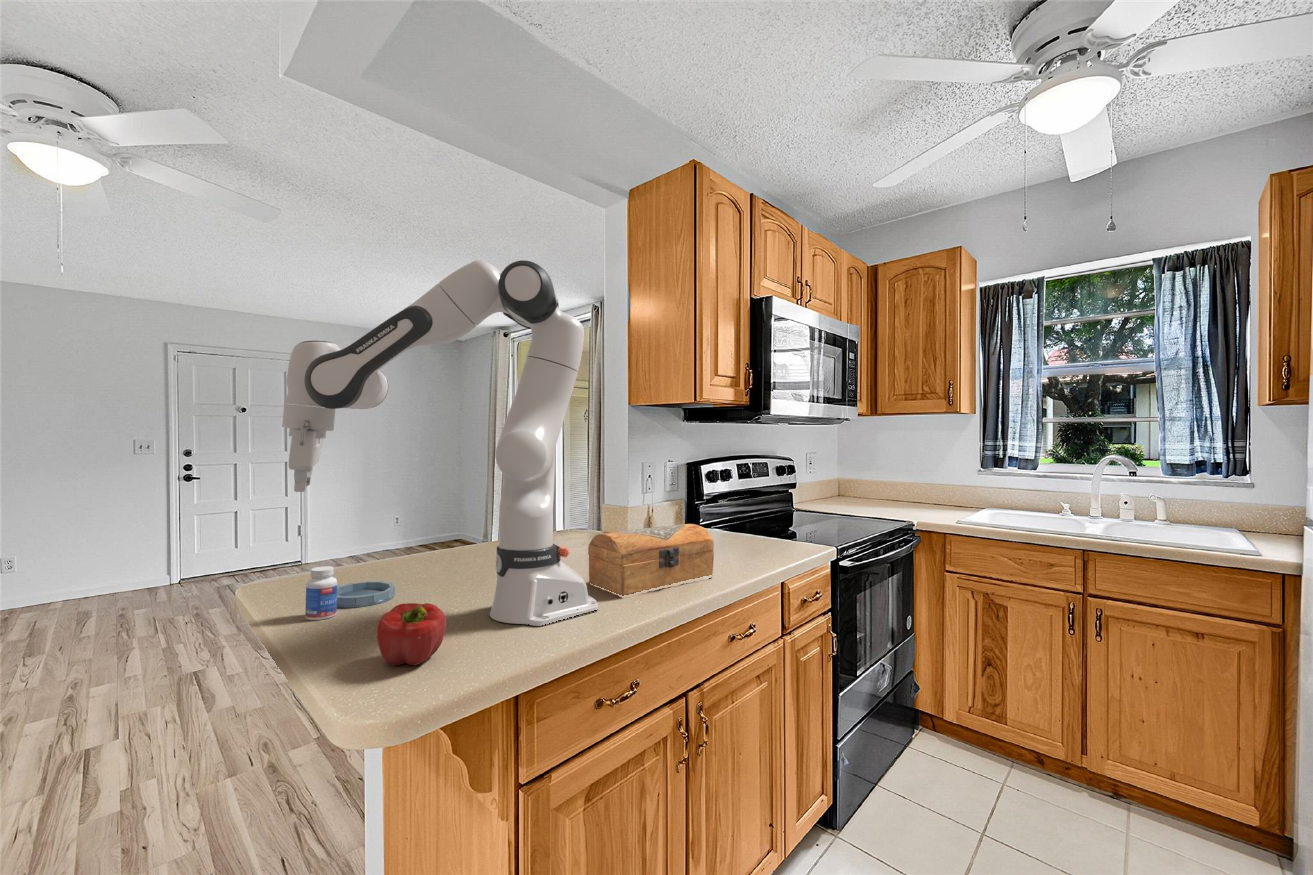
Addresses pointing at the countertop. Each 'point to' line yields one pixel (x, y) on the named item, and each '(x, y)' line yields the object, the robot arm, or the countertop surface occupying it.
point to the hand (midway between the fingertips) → (302, 488)
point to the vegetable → (410, 633)
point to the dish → (364, 594)
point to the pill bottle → (321, 594)
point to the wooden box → (650, 557)
